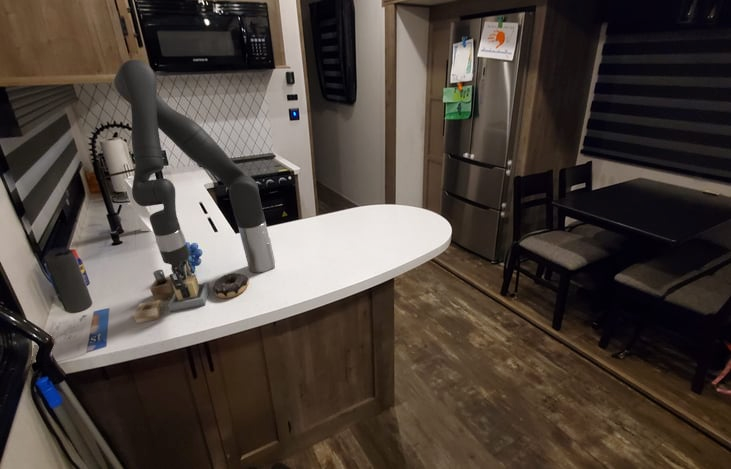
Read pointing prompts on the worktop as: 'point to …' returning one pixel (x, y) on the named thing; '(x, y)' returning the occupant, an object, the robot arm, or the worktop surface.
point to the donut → (230, 285)
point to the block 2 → (189, 287)
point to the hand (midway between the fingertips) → (188, 292)
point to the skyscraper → (138, 207)
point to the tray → (190, 299)
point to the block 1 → (163, 290)
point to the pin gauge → (160, 277)
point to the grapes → (194, 255)
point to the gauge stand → (148, 311)
